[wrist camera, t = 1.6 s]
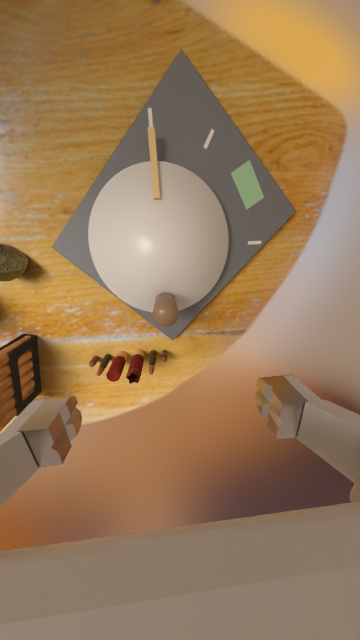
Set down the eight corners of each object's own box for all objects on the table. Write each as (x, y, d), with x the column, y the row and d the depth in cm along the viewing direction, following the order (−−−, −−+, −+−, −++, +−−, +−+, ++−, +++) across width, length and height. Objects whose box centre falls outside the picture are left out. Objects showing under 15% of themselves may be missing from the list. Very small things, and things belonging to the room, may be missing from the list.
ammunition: (95, 363, 29) (77, 390, 23) (92, 352, 29) (73, 377, 23) (167, 356, 30) (168, 382, 24) (166, 345, 29) (167, 368, 23)
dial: (223, 306, 26) (242, 321, 20) (106, 315, 25) (87, 334, 19) (229, 135, 20) (259, 80, 13) (69, 137, 18) (23, 79, 12)
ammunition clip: (23, 333, 27) (-81, 390, 15) (36, 335, 27) (-56, 391, 16) (29, 390, 30) (-52, 471, 19) (41, 391, 30) (-32, 472, 19)
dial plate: (57, 247, 23) (51, 247, 22) (180, 61, 18) (181, 47, 17) (172, 336, 29) (173, 340, 28) (289, 212, 24) (296, 210, 23)
